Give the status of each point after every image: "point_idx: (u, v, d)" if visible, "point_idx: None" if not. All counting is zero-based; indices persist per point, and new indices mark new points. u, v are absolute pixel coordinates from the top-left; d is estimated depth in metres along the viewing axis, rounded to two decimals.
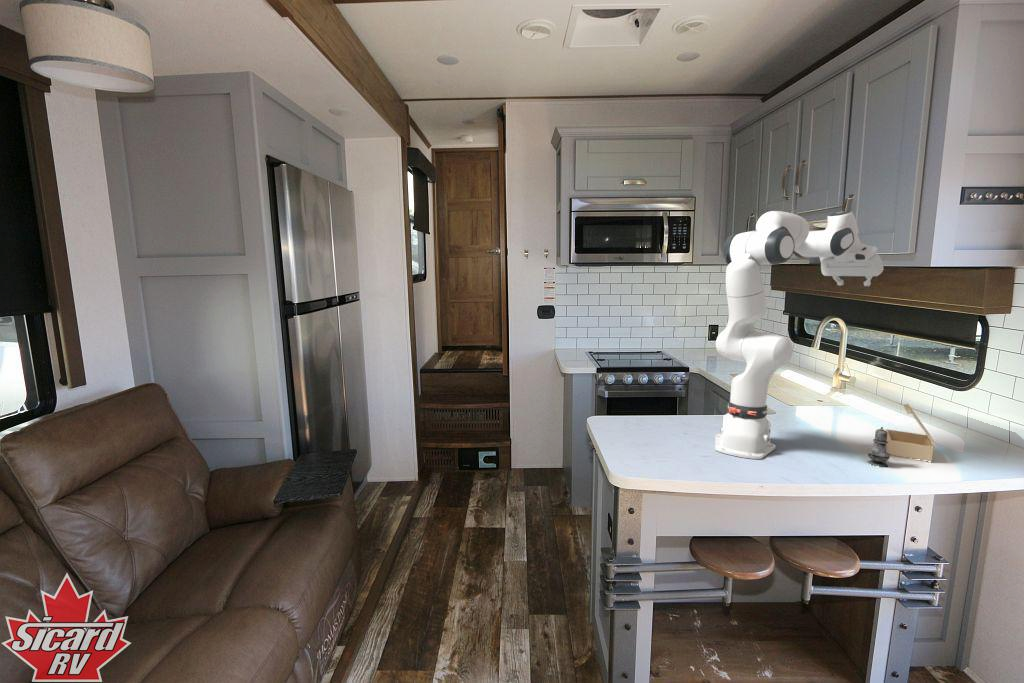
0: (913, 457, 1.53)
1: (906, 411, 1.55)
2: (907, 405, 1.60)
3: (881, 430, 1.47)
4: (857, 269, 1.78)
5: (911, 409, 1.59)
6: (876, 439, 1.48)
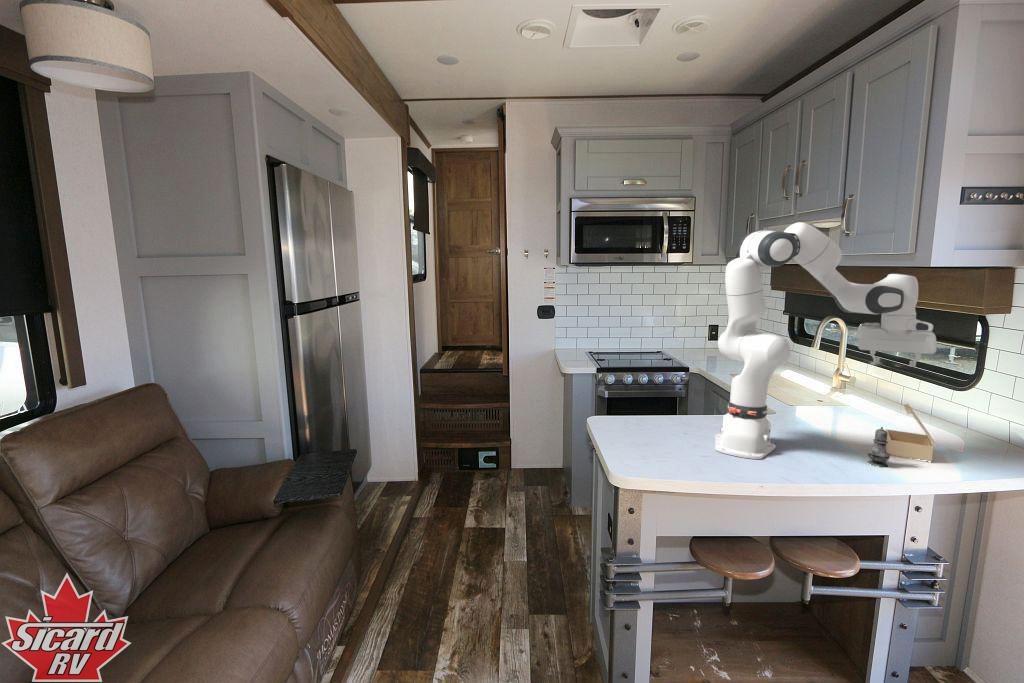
0: (913, 457, 1.53)
1: (906, 411, 1.55)
2: (907, 405, 1.60)
3: (881, 430, 1.47)
4: (910, 343, 1.54)
5: (911, 409, 1.59)
6: (876, 439, 1.48)
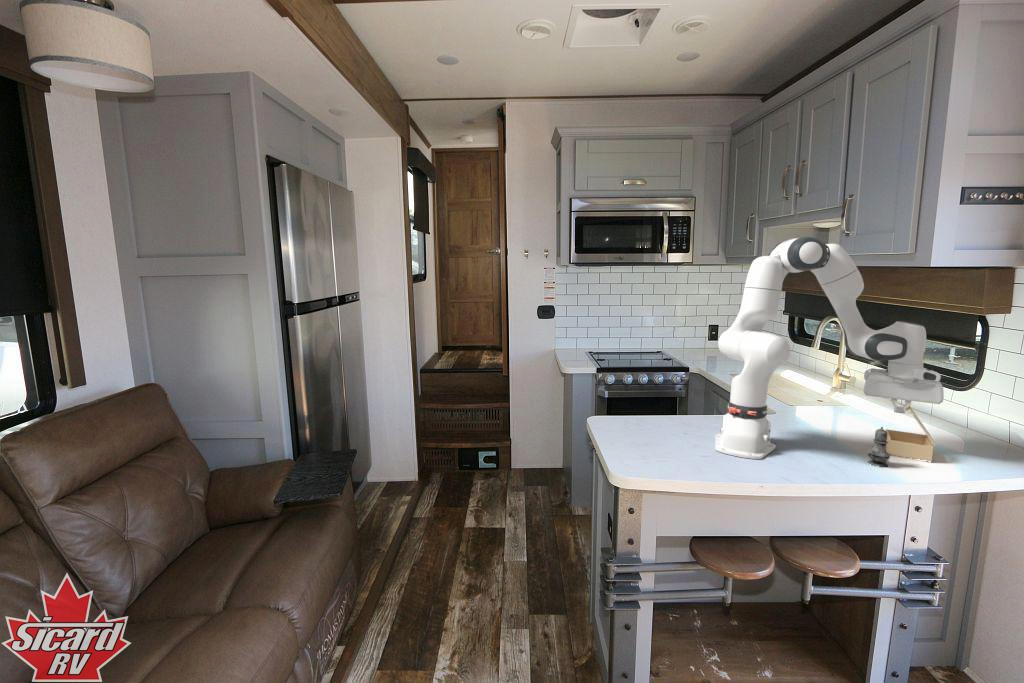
0: (913, 457, 1.53)
1: (906, 411, 1.55)
2: None
3: (881, 430, 1.47)
4: (916, 392, 1.54)
5: (911, 409, 1.59)
6: (876, 439, 1.48)
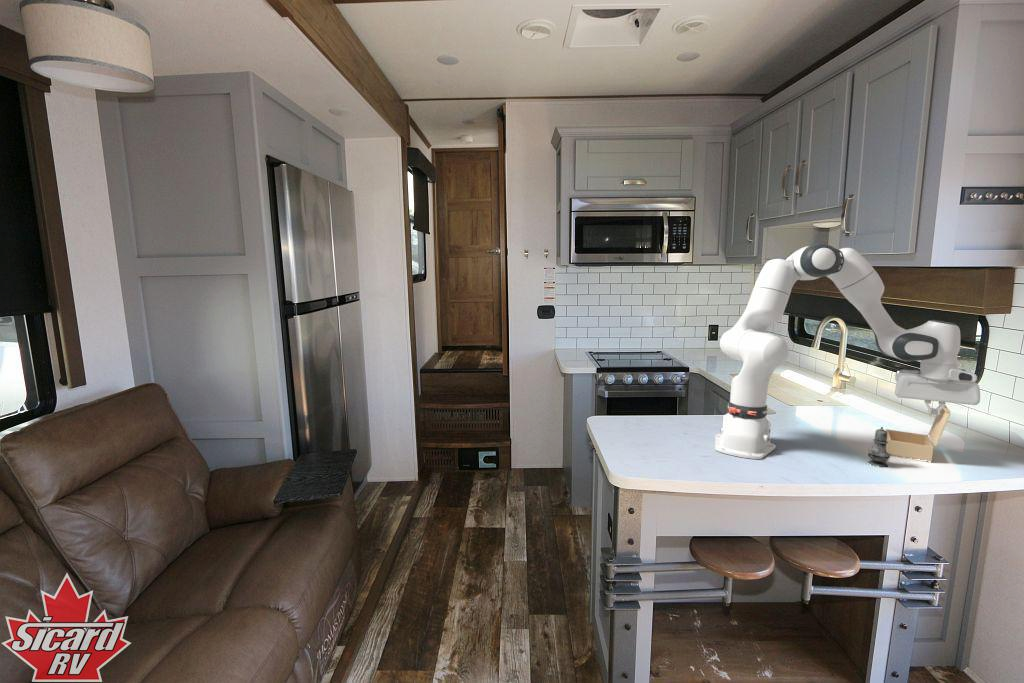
0: (913, 457, 1.53)
1: (944, 408, 1.50)
2: None
3: (881, 430, 1.47)
4: (951, 393, 1.49)
5: (944, 409, 1.55)
6: (876, 439, 1.48)
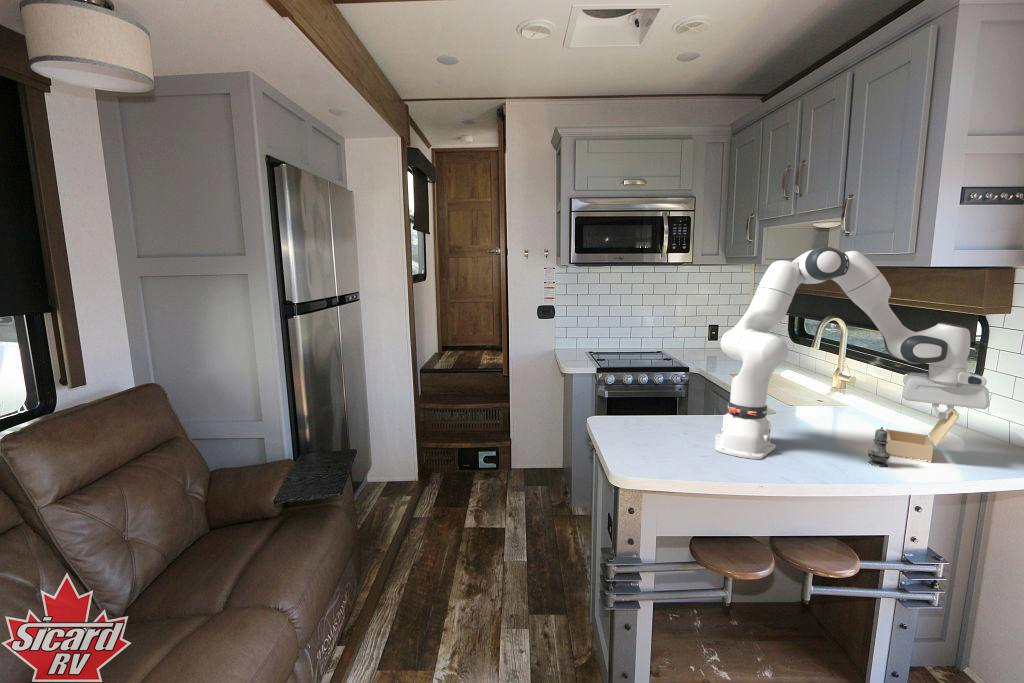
0: (913, 457, 1.53)
1: (953, 410, 1.49)
2: None
3: (881, 430, 1.47)
4: (960, 397, 1.48)
5: (951, 412, 1.54)
6: (876, 439, 1.48)
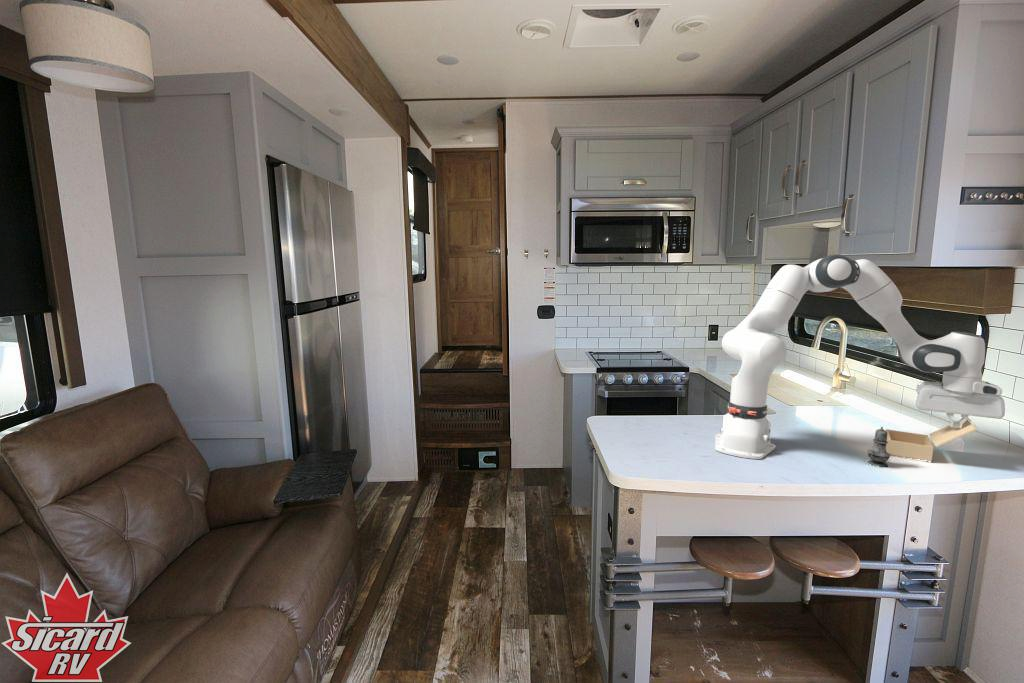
0: (913, 457, 1.53)
1: (972, 422, 1.47)
2: None
3: (881, 430, 1.47)
4: (975, 406, 1.46)
5: None
6: (876, 439, 1.48)
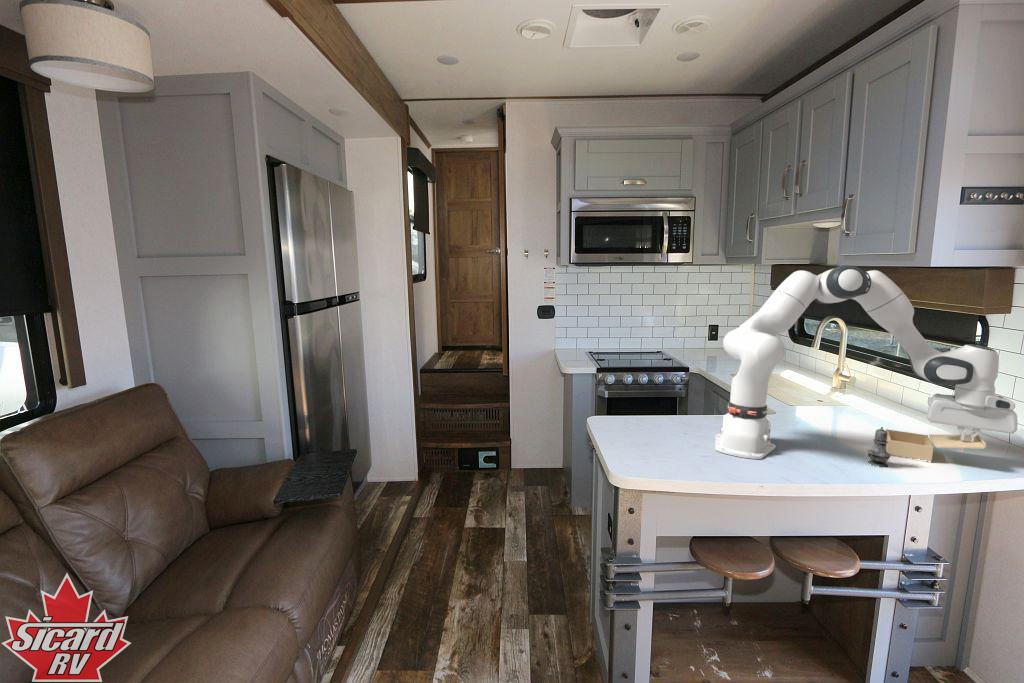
0: (913, 457, 1.53)
1: (983, 441, 1.46)
2: None
3: (881, 430, 1.47)
4: (987, 420, 1.45)
5: None
6: (876, 439, 1.48)
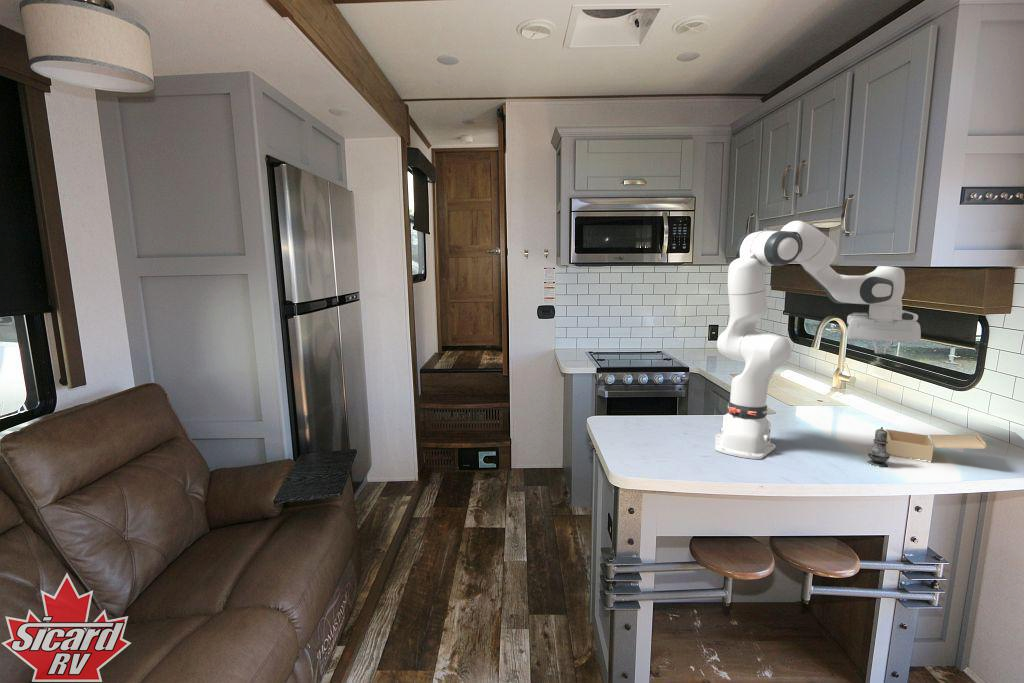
0: (913, 457, 1.53)
1: (983, 441, 1.46)
2: None
3: (881, 430, 1.47)
4: (896, 332, 1.62)
5: None
6: (876, 439, 1.48)
